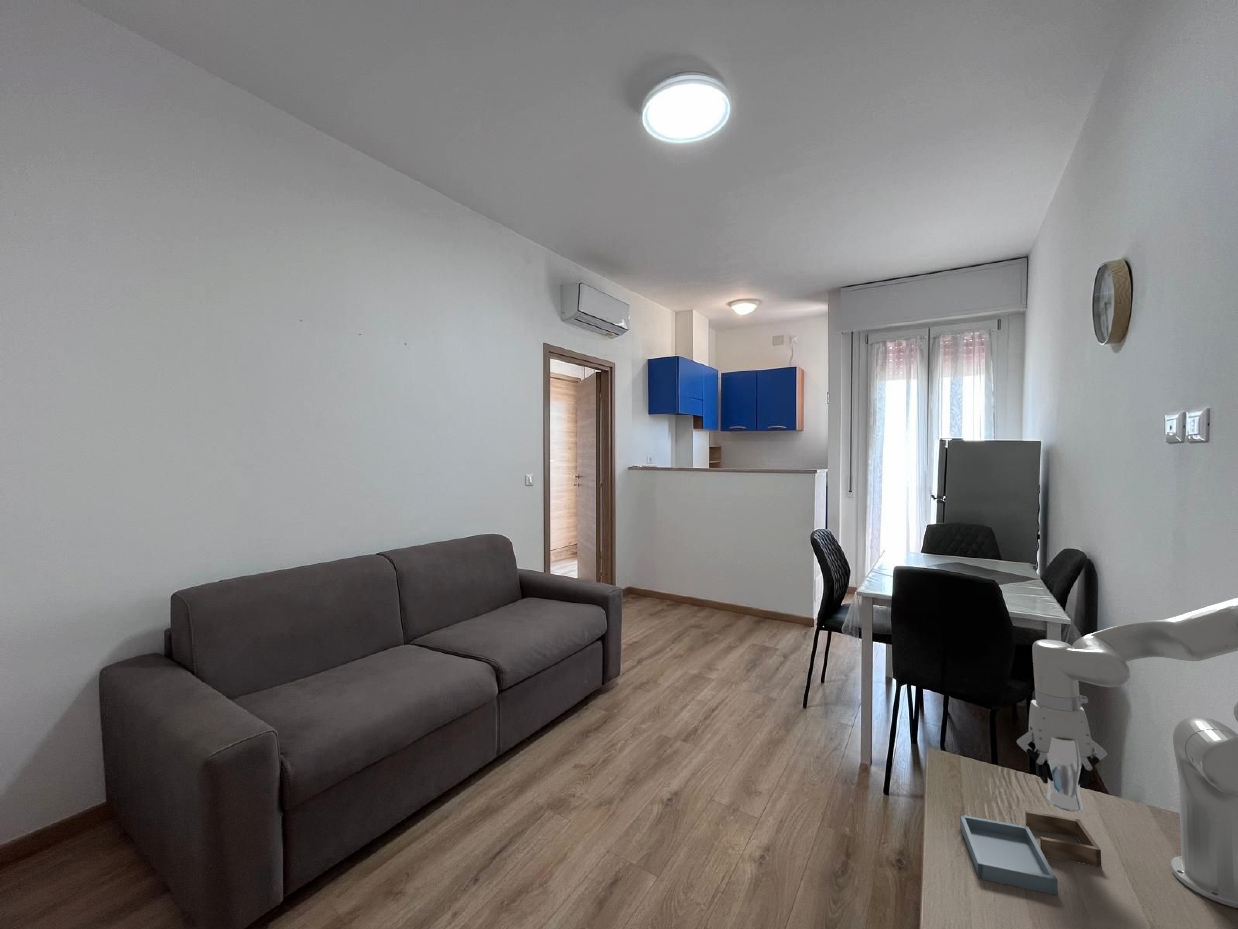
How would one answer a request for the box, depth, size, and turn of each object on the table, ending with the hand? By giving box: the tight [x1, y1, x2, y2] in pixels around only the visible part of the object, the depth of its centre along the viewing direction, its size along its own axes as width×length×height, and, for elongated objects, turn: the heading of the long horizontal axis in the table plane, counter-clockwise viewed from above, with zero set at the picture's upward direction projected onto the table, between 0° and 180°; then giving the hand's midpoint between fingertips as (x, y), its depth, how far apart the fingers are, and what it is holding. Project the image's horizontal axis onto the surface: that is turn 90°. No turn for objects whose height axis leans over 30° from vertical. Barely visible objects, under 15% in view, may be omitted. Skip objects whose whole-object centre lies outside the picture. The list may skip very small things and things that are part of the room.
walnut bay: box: [1024, 810, 1102, 867], centre depth 116 cm, size 10×10×4 cm
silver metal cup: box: [1044, 737, 1084, 813], centre depth 116 cm, size 7×7×15 cm
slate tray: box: [959, 814, 1059, 896], centre depth 113 cm, size 13×16×3 cm
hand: (1063, 782), depth 116 cm, fingers closed on silver metal cup, 6 cm apart
